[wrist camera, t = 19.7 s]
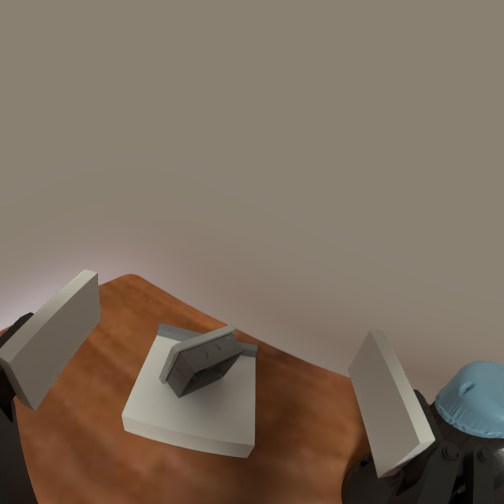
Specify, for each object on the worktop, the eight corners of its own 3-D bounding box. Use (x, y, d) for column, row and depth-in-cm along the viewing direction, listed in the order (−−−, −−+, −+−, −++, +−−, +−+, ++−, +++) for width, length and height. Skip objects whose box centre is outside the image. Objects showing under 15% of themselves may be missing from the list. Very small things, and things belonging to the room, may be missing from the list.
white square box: (249, 368, 45) (257, 345, 43) (247, 458, 28) (257, 439, 26) (158, 347, 44) (160, 322, 42) (124, 430, 27) (120, 408, 25)
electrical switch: (210, 360, 39) (225, 314, 36) (232, 383, 37) (252, 340, 33) (157, 381, 33) (163, 334, 29) (178, 410, 30) (189, 368, 26)
